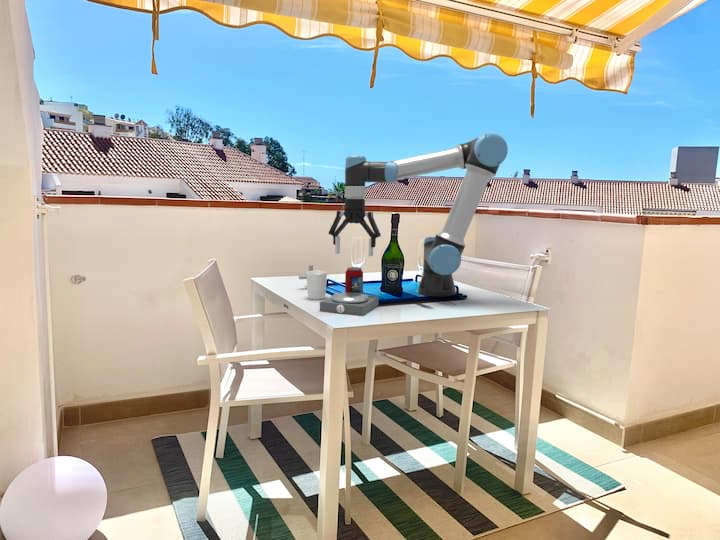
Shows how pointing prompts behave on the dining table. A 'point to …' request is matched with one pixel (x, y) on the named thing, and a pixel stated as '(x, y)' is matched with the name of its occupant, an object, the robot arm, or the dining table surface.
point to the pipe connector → (305, 274)
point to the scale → (349, 306)
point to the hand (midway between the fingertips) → (353, 254)
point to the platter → (349, 298)
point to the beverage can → (354, 280)
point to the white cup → (316, 284)
